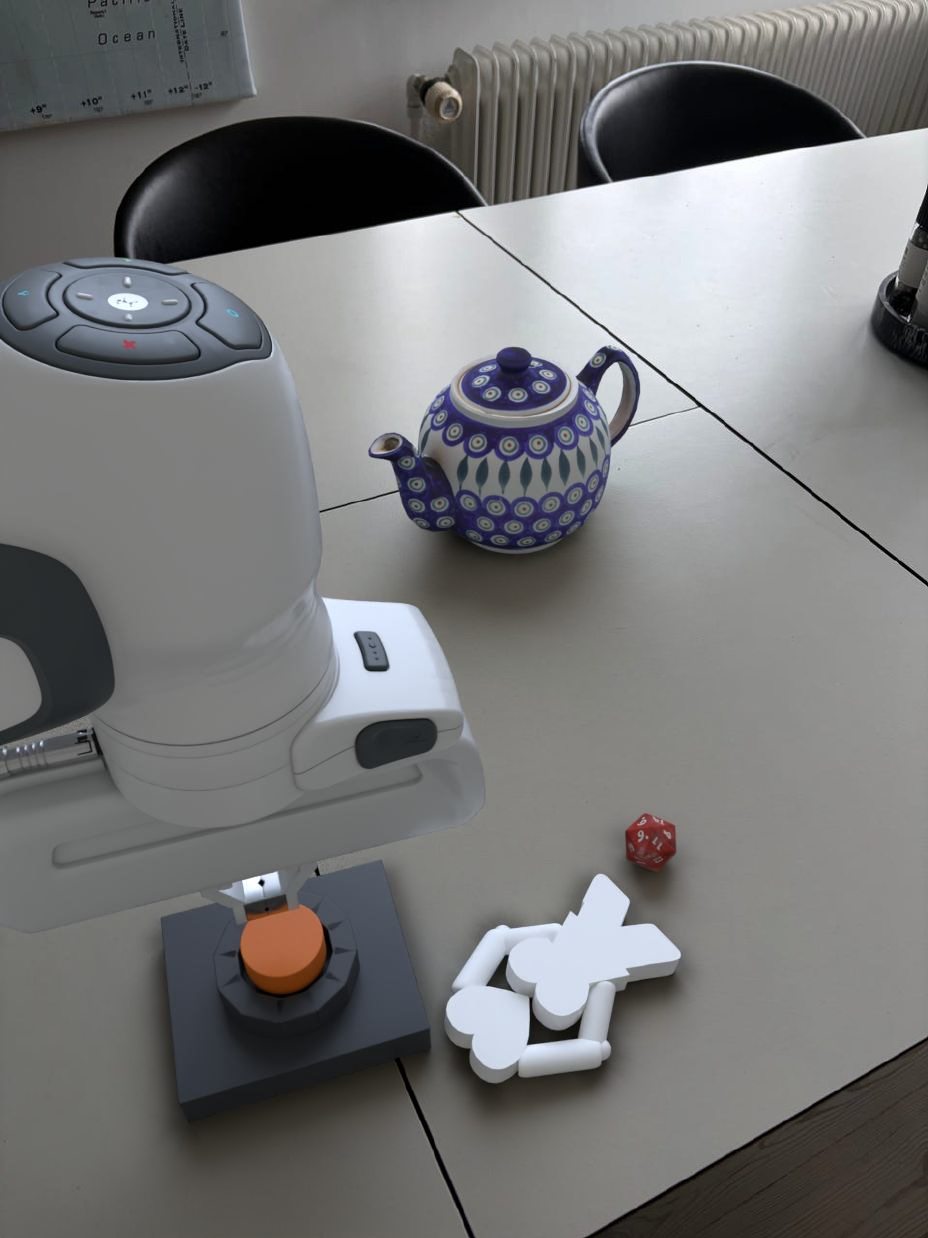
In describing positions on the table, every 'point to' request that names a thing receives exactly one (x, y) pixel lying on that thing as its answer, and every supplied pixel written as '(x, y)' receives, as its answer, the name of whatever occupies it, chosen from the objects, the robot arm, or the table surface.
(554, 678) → the table surface
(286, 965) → the button
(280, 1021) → the control block
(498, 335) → the table surface
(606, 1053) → the white abstract figurine
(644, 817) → the die
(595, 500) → the teapot
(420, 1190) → the table surface
